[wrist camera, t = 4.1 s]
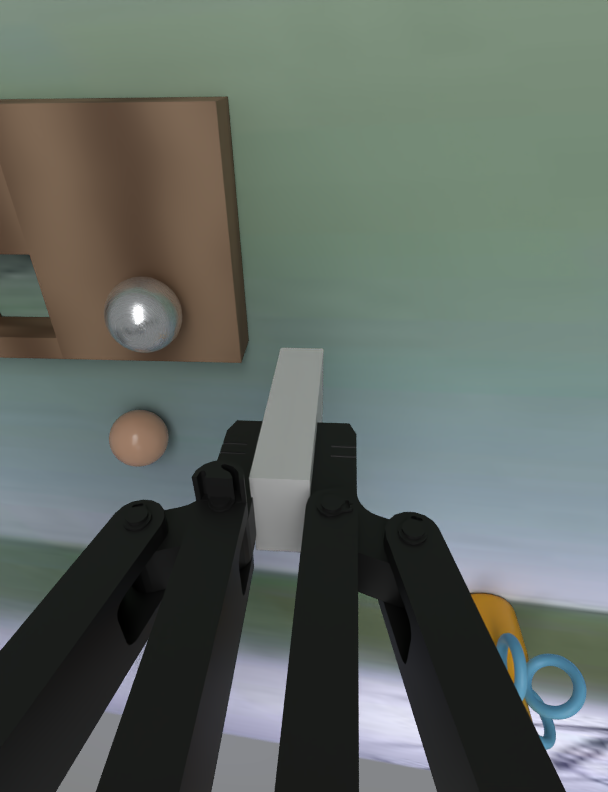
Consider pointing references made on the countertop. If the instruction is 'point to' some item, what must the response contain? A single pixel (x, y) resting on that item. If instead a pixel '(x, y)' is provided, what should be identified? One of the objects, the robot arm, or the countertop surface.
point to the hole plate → (122, 221)
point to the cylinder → (528, 664)
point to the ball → (138, 438)
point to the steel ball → (143, 314)
